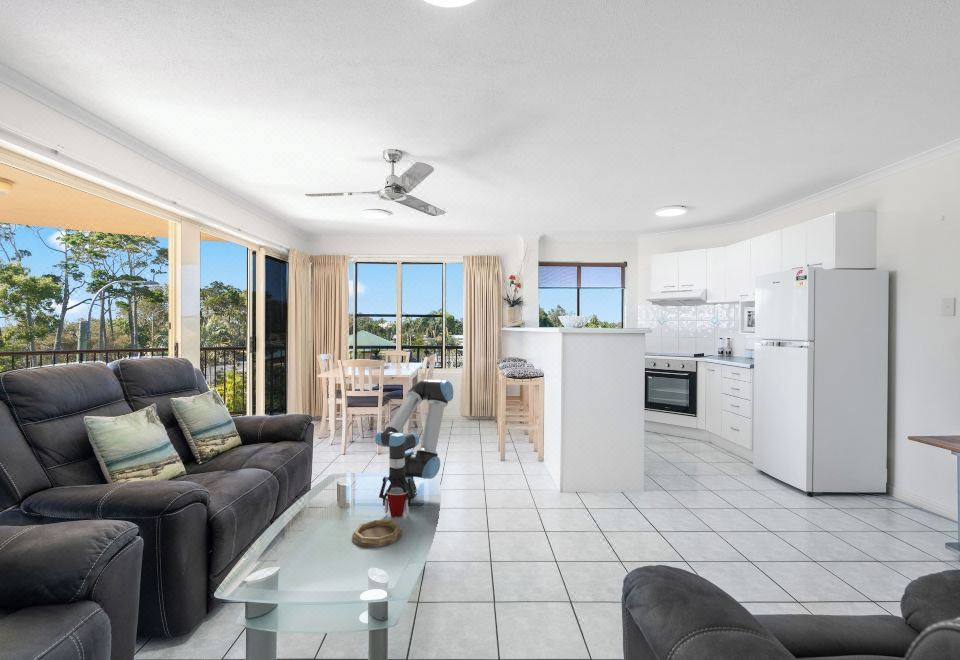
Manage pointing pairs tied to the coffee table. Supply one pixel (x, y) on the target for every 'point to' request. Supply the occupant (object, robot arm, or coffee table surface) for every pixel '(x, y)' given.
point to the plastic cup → (396, 501)
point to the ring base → (377, 533)
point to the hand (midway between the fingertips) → (397, 512)
